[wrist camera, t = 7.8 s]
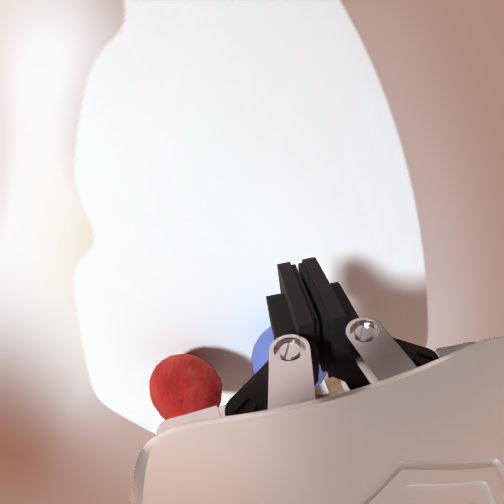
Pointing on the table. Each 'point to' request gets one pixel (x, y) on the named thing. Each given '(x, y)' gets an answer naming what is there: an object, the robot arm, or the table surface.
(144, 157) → the table surface
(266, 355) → the ball
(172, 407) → the onion
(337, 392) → the side pin
